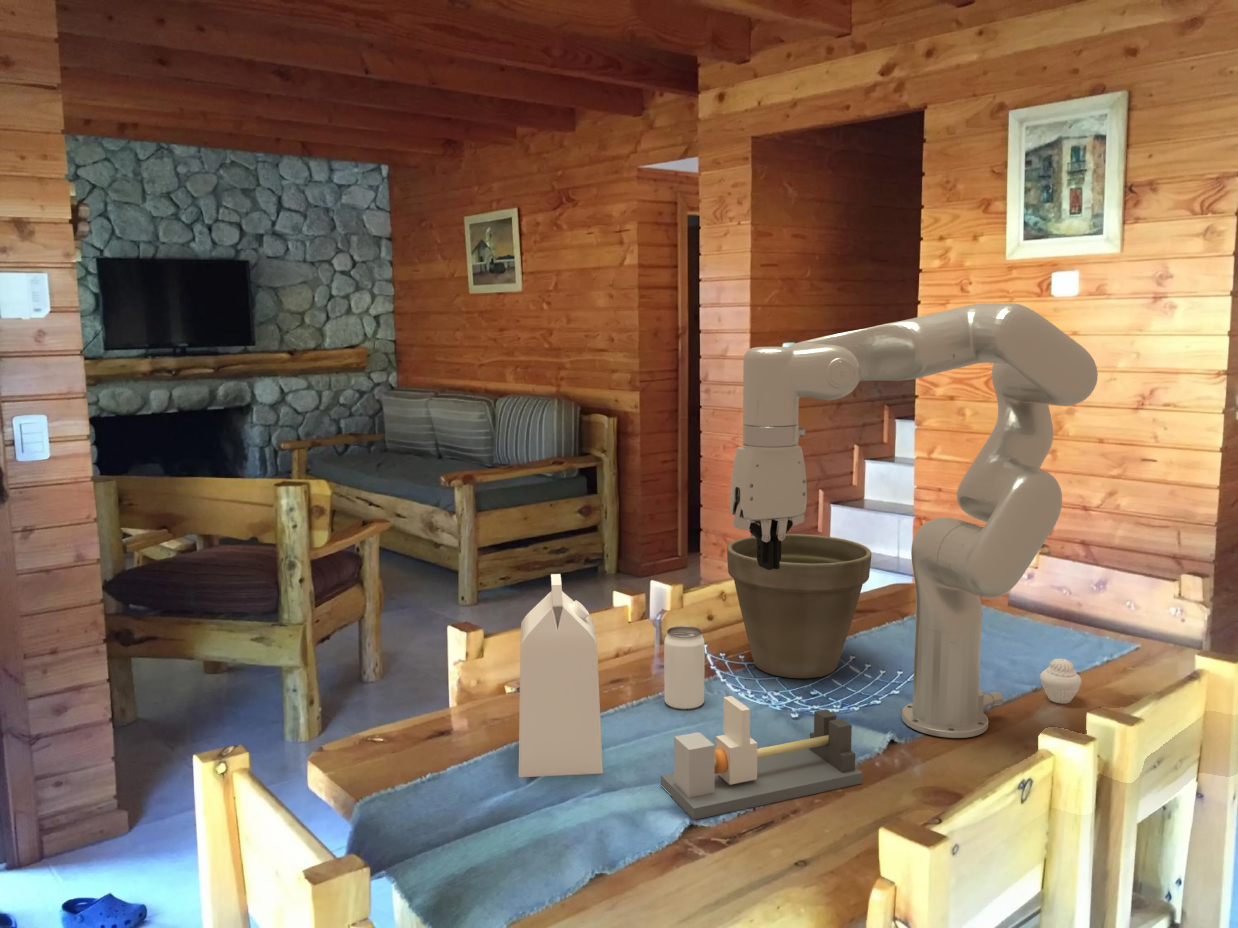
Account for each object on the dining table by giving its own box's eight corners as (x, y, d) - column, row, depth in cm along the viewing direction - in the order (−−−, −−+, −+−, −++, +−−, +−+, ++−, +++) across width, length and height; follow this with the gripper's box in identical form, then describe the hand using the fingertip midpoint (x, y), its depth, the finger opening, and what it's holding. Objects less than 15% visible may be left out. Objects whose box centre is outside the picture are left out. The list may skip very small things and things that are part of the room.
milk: (519, 740, 150) (515, 569, 146) (597, 737, 151) (594, 567, 147) (518, 777, 138) (513, 592, 134) (602, 773, 139) (600, 589, 135)
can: (701, 711, 160) (702, 638, 158) (661, 708, 161) (661, 636, 159) (706, 696, 166) (706, 626, 164) (667, 693, 167) (667, 624, 166)
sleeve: (740, 765, 136) (740, 694, 135) (758, 780, 132) (759, 707, 130) (713, 770, 135) (714, 698, 133) (731, 786, 130) (732, 712, 129)
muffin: (1086, 699, 163) (1088, 657, 162) (1072, 710, 159) (1074, 667, 158) (1047, 689, 167) (1049, 649, 166) (1032, 700, 163) (1034, 658, 162)
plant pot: (823, 636, 196) (825, 527, 193) (896, 679, 173) (900, 556, 170) (704, 651, 188) (704, 537, 185) (764, 698, 165) (765, 569, 162)
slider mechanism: (820, 753, 144) (821, 700, 143) (862, 783, 135) (863, 727, 134) (660, 785, 135) (660, 729, 134) (693, 819, 126) (693, 759, 125)
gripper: (802, 431, 145) (800, 556, 148) (709, 437, 139) (708, 566, 142) (832, 437, 138) (829, 568, 141) (735, 443, 133) (734, 579, 135)
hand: (768, 567), depth 141 cm, fingers closed
